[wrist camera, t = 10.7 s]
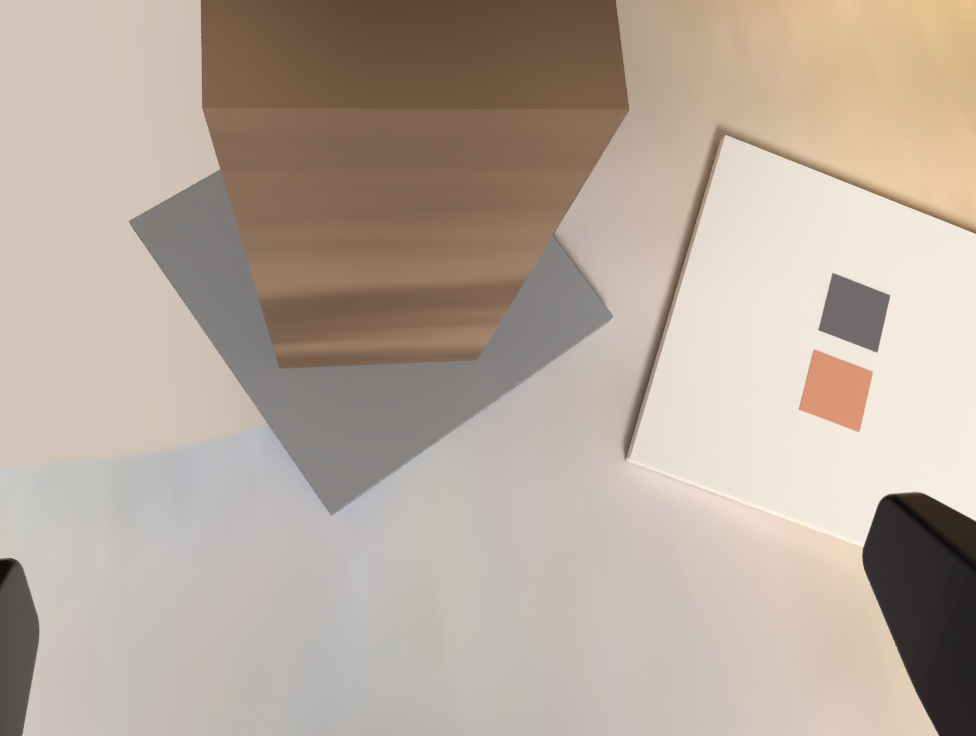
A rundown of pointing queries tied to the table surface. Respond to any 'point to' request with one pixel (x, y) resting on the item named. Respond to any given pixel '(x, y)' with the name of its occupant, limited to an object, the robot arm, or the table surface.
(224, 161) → the walnut post
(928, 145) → the table surface
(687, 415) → the tile
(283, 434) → the grey pad
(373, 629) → the table surface
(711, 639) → the table surface
